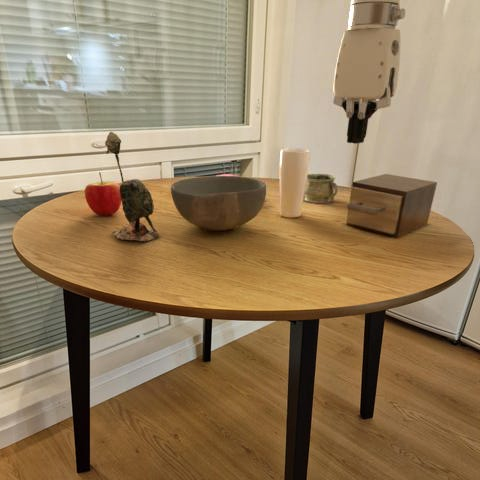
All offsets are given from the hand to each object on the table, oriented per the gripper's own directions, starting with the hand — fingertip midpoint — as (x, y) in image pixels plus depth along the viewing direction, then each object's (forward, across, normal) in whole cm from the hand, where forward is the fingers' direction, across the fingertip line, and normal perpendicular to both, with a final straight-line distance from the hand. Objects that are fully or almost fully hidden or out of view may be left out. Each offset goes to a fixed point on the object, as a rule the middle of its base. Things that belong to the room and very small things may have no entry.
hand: (355, 142), depth 77 cm
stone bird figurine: (+19, +30, +29) cm, 46 cm away
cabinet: (+19, 0, -19) cm, 27 cm away
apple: (+19, +50, +25) cm, 59 cm away
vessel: (+19, +25, -26) cm, 41 cm away
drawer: (+18, 0, -15) cm, 23 cm away
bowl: (+19, +24, +12) cm, 33 cm away
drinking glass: (+19, +20, -8) cm, 29 cm away
